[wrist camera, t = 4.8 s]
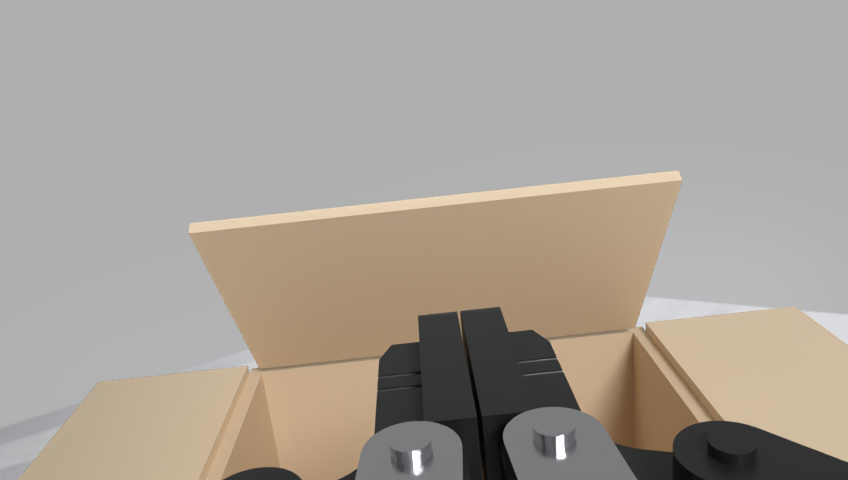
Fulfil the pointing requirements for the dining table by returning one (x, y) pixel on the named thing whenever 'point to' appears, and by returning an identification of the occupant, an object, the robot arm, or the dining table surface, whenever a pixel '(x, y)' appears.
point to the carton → (357, 393)
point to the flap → (439, 265)
